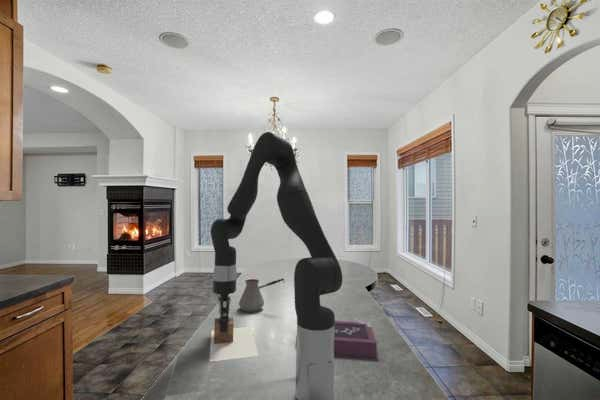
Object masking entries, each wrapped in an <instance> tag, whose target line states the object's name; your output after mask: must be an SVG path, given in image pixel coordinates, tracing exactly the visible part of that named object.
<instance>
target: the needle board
mask: <svg viewBox="0 0 600 400" xmlns="http://www.w3.org/2000/svg"><path fill="white" fill-rule="evenodd" d="M222 316H227V315H226V314H225V313H223V314H222ZM210 332H211V333H210V334H211V335H210V346H209V347H210V348H209V349H210V350H209V359H208V360H209V361H208V362H209V363H212V362H221V361H229V360H236V359H246V358H253V357H254V358H255V357H259V355H260V354H259V352H258V347H257V345H256V340H255V337H254V333H253V330H252V327H251V326H245V327H233V342H229V343H219V344H214V329H213V330H211V331H210Z"/></svg>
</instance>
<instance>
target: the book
mask: <svg viewBox="0 0 600 400" xmlns="http://www.w3.org/2000/svg"><path fill="white" fill-rule="evenodd" d="M377 345H378V343H377V340H376V338H375V334H374V332H373V327H372V325H371V322H367V321H366V322H365V321H346V320H345V321H343V320H335V331H334V355H335V356H336V355H338V356H352V357H364V358H377ZM296 346H297V335H296V337H295V347H296Z"/></svg>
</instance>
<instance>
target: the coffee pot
mask: <svg viewBox="0 0 600 400" xmlns="http://www.w3.org/2000/svg"><path fill="white" fill-rule="evenodd" d="M244 282H245V284H246V285H245V288H244V291H243V293H242V295H241V297H240V299H239V301H238V306H239V308H240V309H241V310H242V311H243V312H246V313H255V312H259V311H260V310H261V309H263V308H262V307H264V305H265V300H264V298H263V295H262V293H261V290H260V289H262V288H264V287H268V286H272V285H275V284H278V283H280V282H283V284H285V282H286V281H285V279H284V278H280V279H278V280H272V281H270V282H268V283H266V284H263V285H261V286H259V282H260V280H259V279H255V278H254V279H253V278H250V279H246V280H245V281H244Z"/></svg>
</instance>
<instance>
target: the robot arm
mask: <svg viewBox="0 0 600 400" xmlns="http://www.w3.org/2000/svg"><path fill="white" fill-rule="evenodd" d="M265 164H269V165H270V166H273V167H274V168H275V170H276V172H277V175H278V177H279V186H278V189H277V193H276V201H277V203H276V204H277V206H278V209H279V211H280V215H281V218H282V220H283V222H284V224H285V225H286V226H287V227H288V229H290V230H291V232H292V233H294V234H295V235H296V237H297V238H299V239H300V240H301V241H302V243H303V244H304V245H305V247H306V249H307V250H308V253H309V255H310V257H304V258H301V259H299V260H298V261H297V262H296V264H295V268H294V275H293V286H294V287H293V289H294V308H295V315H296V336H297V346H296V345H295V347H296V350H295V352H296V353H295V355H296V356H295V357H296V358H295V360H296V361H295V398H296V400H297V399H298V400H334V393H335V392H334V391H335V389H334V387H335V385H334V384H335V354H334V331H335V321H336V320H335V312H334V311H333V310H332V309H330V308H329V307H326V306H323V305H321V296H323V295H328V294H332V293H335V292H337V291H339V290H340V289H341V287H342V284H343V272H342V268H341V265H340V263H339V260H338V259H337V257H336V255H335V252H334V250H333V249H332V247H331V245H330V243H329V241H328V240H327V237H326V236H325V234H324V231H323V229H322V227H321V224H320V222H319V220H318V216H317V215H316V212H315V209H314V206H313V203H312V201H311V198H310V195H309V193H308V191H307V189H306V187H305V184H304V181H303V179H302V176H301V173H300V171H299V167H298V163H297V158H296V156H295V152H294V149H293V146H292V145H291V143H290V142H289V141H288V140H287V139H285V138H283V137H281V136H280V135H278V134H276V133H274V132H272V131H266V132H263V133H262V134H261V135H260V136H259V138H258V139H257V141H256V142H255V145H254V147H253V149H252V151H251V154H250V157H249V159H248V162H247V165H246V168H245V170H244V173H243V175H242V178H241V181H240V183H239V185H238V186H237V188H236V191H235V192H234V195H232V197H231V199H230V201H229V203H228V204H227V207H226V208H227V209H226V210H227V212H228V213H229V217H228V218H217V219H215V220H214V221H213V223H212V224H211V228H210V237H211V242H212V247H213V249H214V268H213V276H212V277H213V279H212V280H213V281H212V293H213V294H215V295H219V296H218V299H217V304H218V314H219V318H220V321H221V322H220V332H221V333H223V332H227V326H228V319H229V317H230V316H229V314H230V312H231V307H230V306H231V300H232V299H231V296H229V295H230V294H234V293H235V292H236V291H237V249H236V248H235V247H234V246H230V242H229V240H233V239H236V238H237V237H238V236H240V234H241V233H242V231H243V230H244V229H243V228H244V227H245V222H246V220H247V216H248V214H249V212H250V211H251V209H252V207H253V206H254V204H255V202H256V200H257V196H258V187H259V177H260V173H261V170H262V169H263V167H264V165H265ZM223 313H225V314H226V315H227V316H222V314H223Z"/></svg>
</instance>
